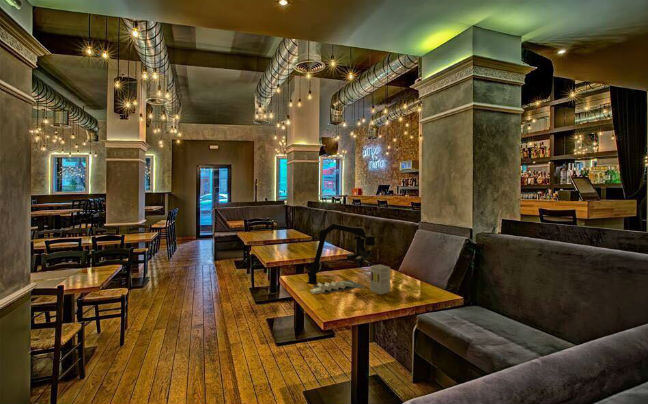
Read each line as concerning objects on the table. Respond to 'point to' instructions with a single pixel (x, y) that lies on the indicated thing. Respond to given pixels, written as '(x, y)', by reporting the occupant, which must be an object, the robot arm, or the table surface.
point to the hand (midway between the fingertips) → (360, 267)
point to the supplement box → (380, 279)
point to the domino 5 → (346, 284)
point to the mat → (342, 288)
